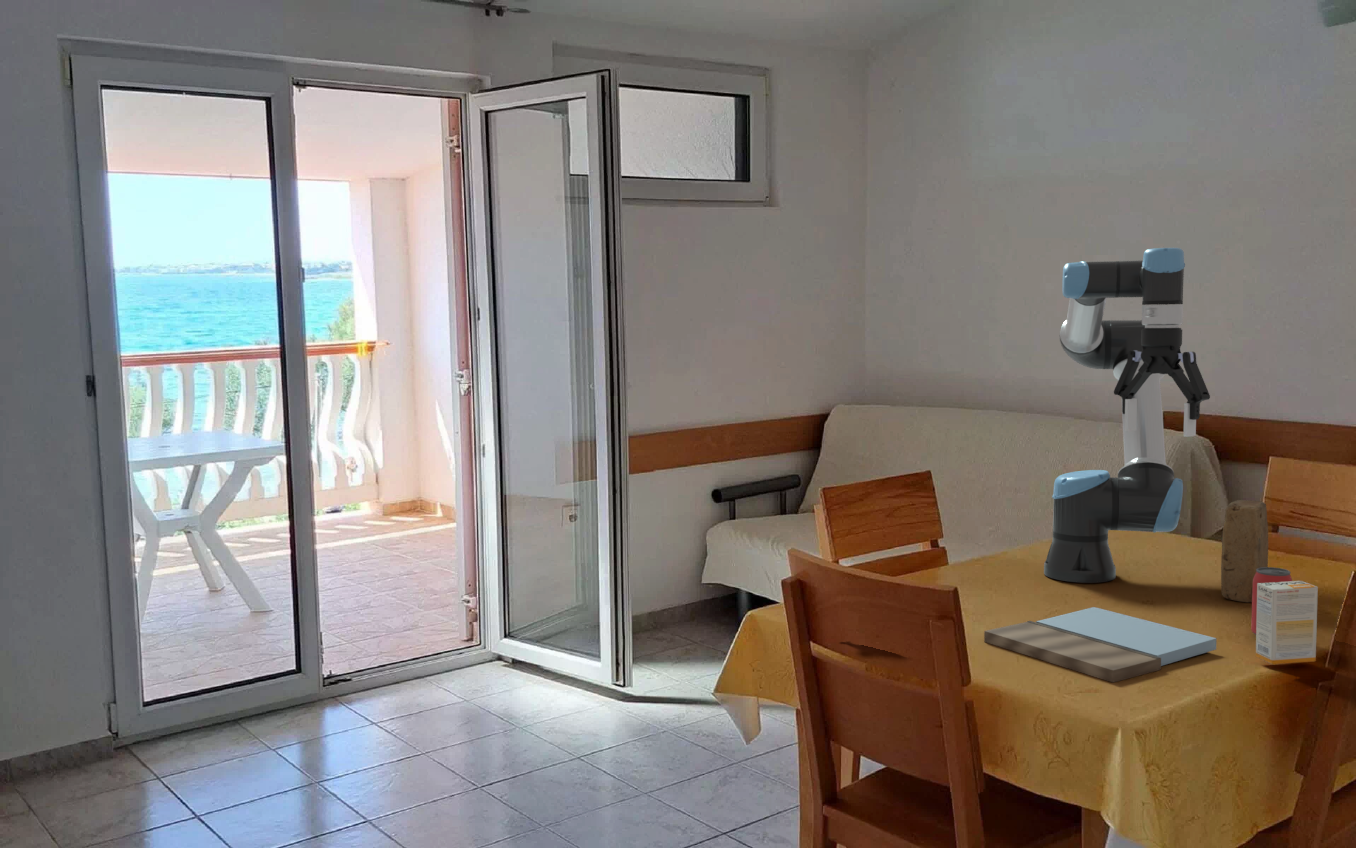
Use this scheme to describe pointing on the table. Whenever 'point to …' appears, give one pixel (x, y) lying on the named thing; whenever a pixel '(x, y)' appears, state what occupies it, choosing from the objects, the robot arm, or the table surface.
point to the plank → (1134, 634)
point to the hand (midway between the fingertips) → (1159, 433)
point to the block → (1243, 548)
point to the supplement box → (1286, 622)
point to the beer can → (1266, 577)
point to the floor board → (1073, 651)
